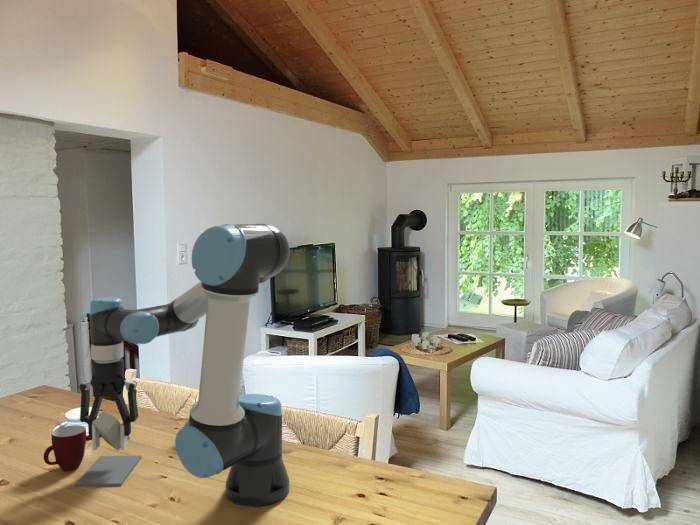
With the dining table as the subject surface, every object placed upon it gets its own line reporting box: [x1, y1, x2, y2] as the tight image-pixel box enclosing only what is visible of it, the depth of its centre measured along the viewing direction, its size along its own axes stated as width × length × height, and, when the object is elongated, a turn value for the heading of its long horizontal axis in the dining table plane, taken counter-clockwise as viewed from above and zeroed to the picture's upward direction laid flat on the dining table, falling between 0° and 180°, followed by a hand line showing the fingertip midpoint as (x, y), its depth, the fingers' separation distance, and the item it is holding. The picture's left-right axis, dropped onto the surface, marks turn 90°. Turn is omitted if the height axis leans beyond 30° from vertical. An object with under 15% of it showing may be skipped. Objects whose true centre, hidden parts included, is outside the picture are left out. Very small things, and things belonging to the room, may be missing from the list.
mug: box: [43, 424, 87, 472], centre depth 149 cm, size 10×8×10 cm
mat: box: [74, 454, 142, 487], centre depth 149 cm, size 11×16×1 cm
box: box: [92, 410, 131, 452], centre depth 149 cm, size 5×4×11 cm
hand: (110, 447), depth 148 cm, fingers closed on box, 6 cm apart
